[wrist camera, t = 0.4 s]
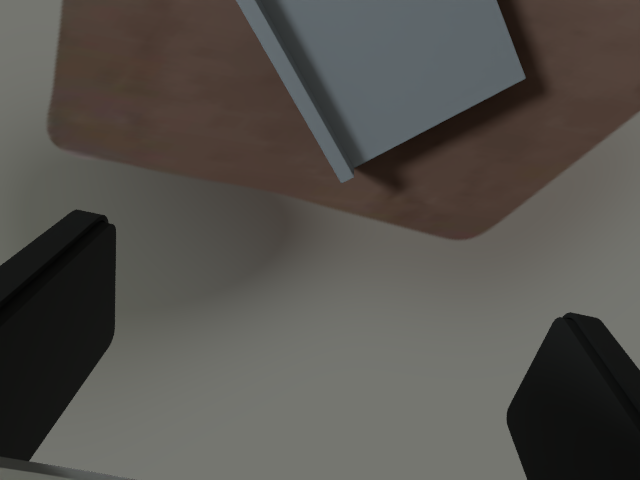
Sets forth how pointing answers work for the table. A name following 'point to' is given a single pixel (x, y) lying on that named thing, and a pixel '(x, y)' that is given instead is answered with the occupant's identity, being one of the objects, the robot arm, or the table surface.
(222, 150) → the table surface
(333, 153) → the stand
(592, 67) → the table surface
